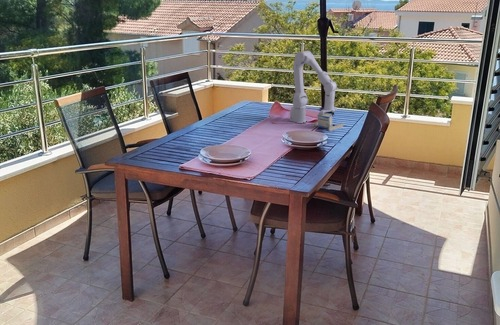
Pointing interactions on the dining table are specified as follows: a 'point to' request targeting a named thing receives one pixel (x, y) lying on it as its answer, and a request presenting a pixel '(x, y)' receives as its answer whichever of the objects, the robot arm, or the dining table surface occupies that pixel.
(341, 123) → the parallel bars
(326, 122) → the medicine box
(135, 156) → the dining table surface
